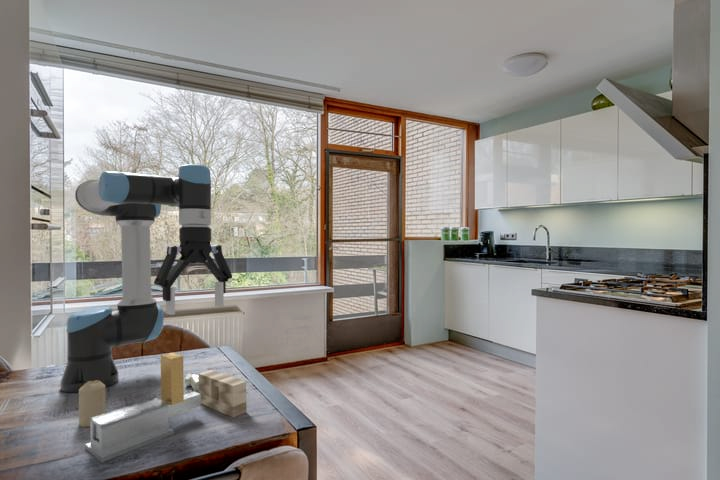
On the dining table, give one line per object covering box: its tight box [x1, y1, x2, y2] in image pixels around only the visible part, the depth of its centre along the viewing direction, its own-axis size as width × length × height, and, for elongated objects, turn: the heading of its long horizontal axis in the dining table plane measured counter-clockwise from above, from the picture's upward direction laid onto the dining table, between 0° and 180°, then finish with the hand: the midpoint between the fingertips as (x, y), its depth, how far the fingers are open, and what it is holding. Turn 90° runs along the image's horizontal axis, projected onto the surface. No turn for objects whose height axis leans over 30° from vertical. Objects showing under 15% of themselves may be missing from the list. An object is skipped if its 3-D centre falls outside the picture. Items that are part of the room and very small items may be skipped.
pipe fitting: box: [184, 373, 199, 393], centre depth 124 cm, size 8×4×7 cm
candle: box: [78, 380, 107, 428], centre depth 101 cm, size 6×6×10 cm
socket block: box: [197, 369, 247, 418], centre depth 109 cm, size 16×4×8 cm, turn 52°
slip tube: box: [96, 352, 202, 439], centre depth 95 cm, size 5×22×14 cm, turn 142°
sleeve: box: [84, 397, 175, 463], centre depth 91 cm, size 9×15×7 cm, turn 142°
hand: (196, 310), depth 104 cm, fingers open, 13 cm apart
